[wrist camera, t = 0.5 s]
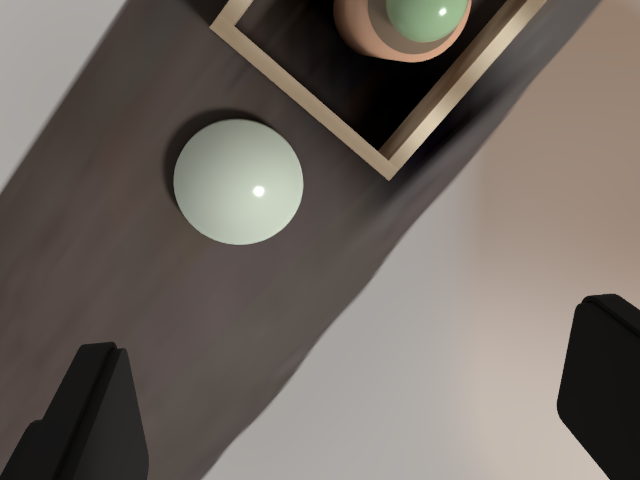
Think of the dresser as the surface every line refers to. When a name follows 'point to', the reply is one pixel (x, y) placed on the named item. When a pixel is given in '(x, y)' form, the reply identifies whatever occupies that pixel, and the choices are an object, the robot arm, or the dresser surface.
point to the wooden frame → (429, 110)
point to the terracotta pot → (400, 26)
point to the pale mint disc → (238, 181)
